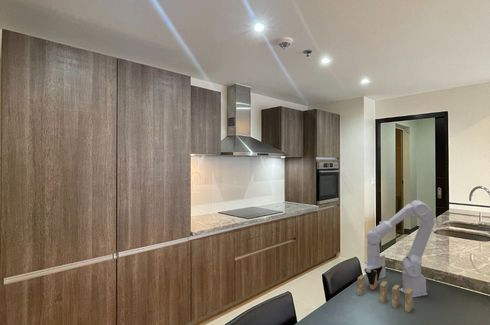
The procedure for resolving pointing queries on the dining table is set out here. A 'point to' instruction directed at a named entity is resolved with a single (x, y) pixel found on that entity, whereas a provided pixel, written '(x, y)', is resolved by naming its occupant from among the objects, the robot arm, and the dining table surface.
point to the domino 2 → (374, 283)
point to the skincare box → (382, 273)
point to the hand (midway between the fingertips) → (373, 282)
